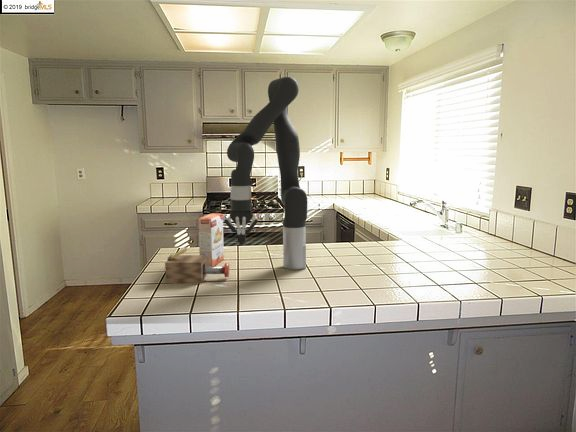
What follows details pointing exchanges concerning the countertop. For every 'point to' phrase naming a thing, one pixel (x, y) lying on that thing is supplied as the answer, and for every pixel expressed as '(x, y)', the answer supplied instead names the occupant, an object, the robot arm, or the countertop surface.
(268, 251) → the countertop surface
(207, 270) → the lynch pin
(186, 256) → the block
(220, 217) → the cracker box
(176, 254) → the lever
